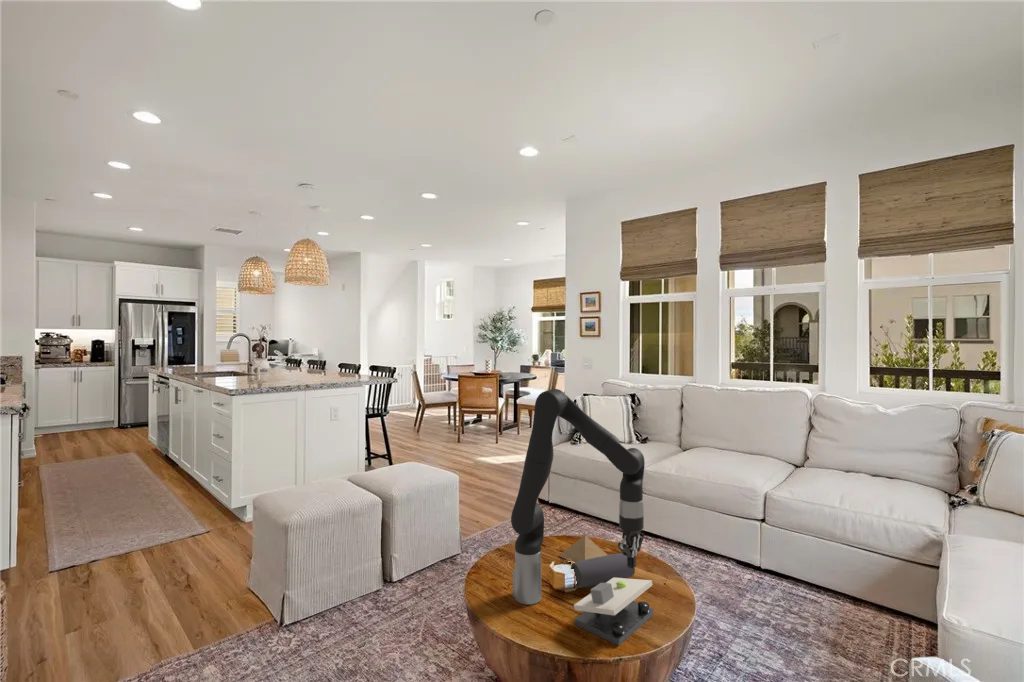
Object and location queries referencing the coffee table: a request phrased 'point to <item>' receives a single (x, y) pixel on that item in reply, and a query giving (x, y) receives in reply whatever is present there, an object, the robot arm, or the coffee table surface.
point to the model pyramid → (582, 550)
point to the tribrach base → (608, 620)
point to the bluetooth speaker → (601, 570)
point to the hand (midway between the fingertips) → (631, 567)
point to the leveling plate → (618, 597)
